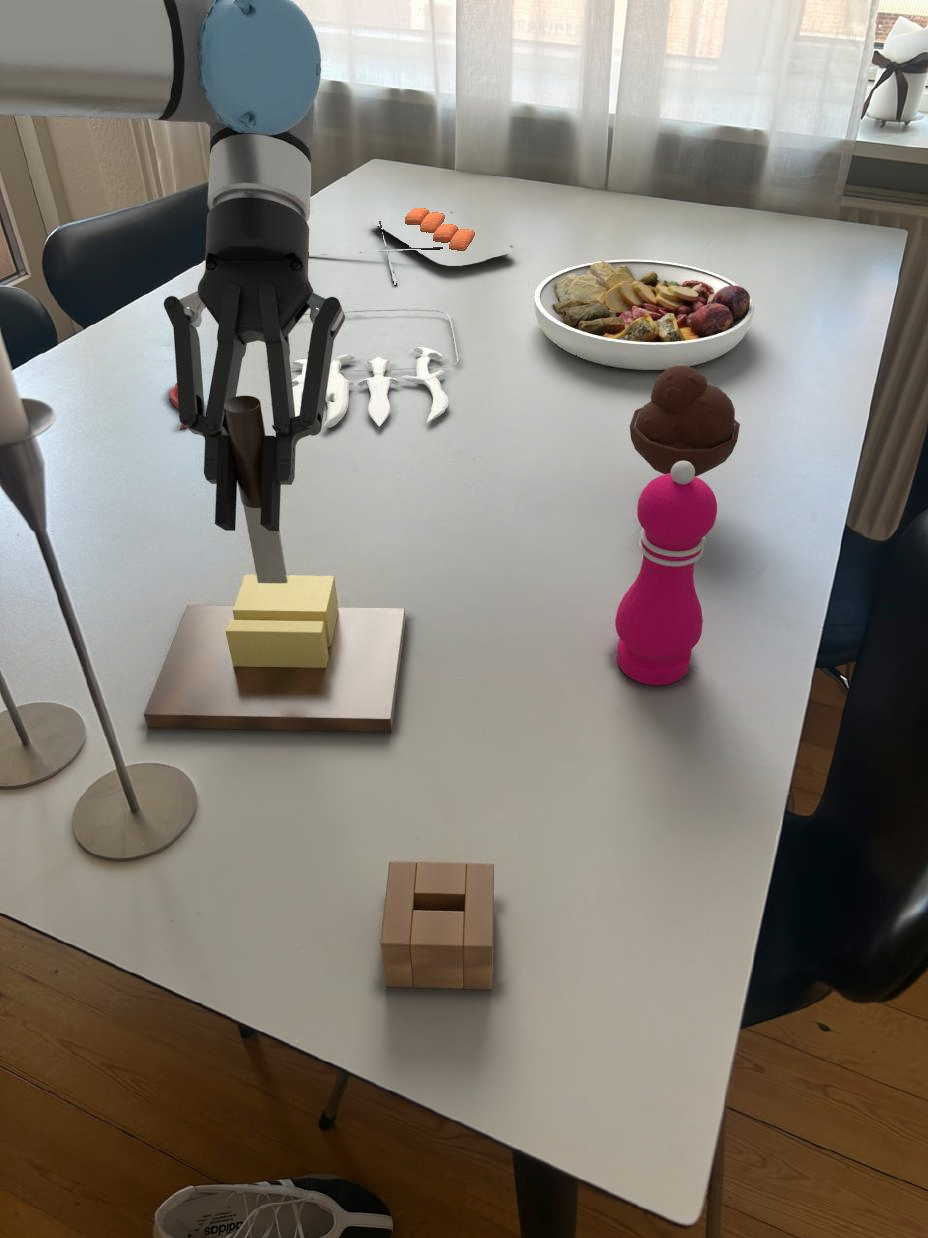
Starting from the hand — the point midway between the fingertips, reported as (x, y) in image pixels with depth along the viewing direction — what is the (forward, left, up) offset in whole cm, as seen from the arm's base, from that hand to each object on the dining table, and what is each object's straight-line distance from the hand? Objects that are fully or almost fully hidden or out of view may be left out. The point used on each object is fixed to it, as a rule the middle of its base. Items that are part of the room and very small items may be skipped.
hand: (247, 527), depth 70 cm
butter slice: (0, +2, -16) cm, 16 cm away
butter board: (0, +3, -17) cm, 17 cm away
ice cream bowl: (+37, +30, -17) cm, 51 cm away
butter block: (0, +7, -16) cm, 17 cm away
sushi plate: (+1, +106, -17) cm, 108 cm away
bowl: (+38, +74, -17) cm, 85 cm away
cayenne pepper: (-21, +51, -17) cm, 58 cm away
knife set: (0, +62, -17) cm, 64 cm away
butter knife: (0, +4, -8) cm, 9 cm away
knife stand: (+15, -23, -17) cm, 32 cm away
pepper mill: (+32, +5, -17) cm, 37 cm away
